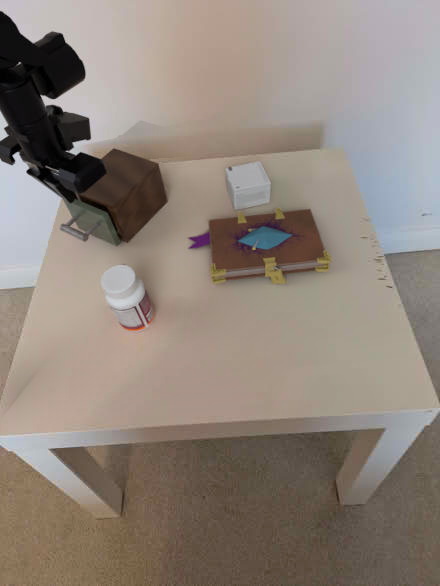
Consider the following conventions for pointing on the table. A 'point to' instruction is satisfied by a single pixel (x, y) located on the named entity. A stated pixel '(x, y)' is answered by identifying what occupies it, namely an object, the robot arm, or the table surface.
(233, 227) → the book
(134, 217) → the cabinet
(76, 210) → the drawer
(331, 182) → the table surface
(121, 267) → the pill bottle
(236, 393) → the table surface
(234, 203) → the small box
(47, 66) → the robot arm
